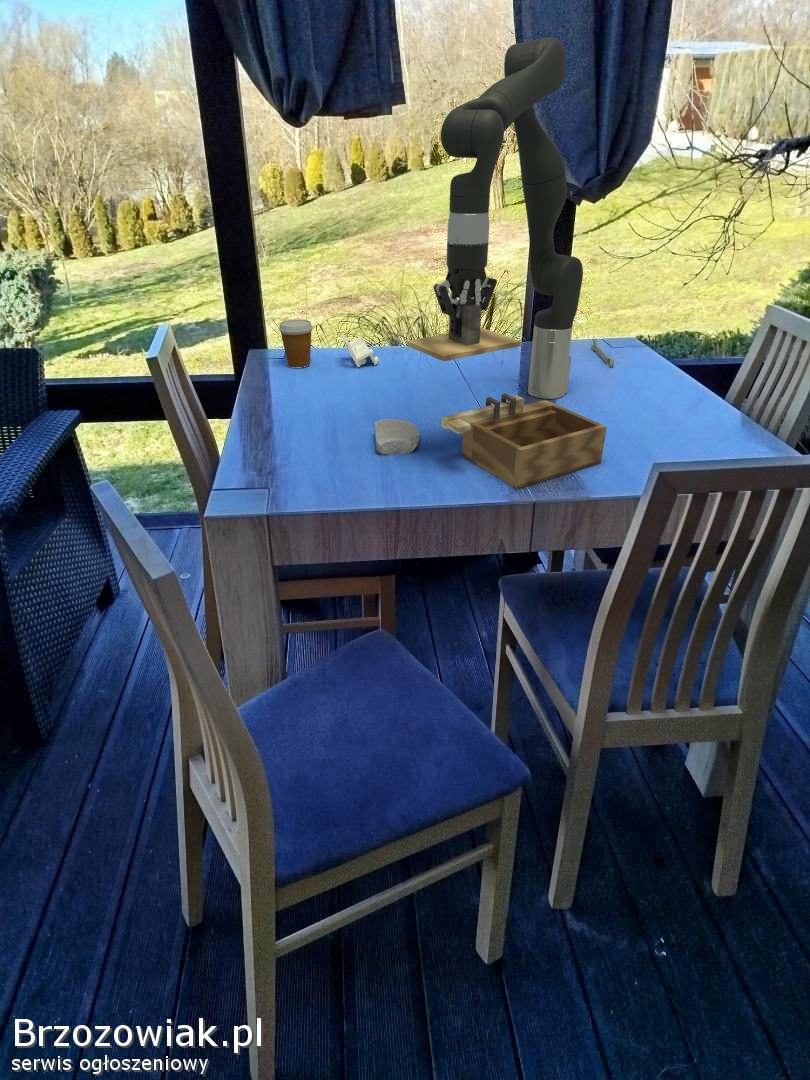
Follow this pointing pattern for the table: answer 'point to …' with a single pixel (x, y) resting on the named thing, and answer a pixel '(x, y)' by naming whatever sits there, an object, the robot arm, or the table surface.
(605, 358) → the combination wrench
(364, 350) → the mounting bracket
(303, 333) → the disposable coffee cup
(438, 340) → the lid
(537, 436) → the wooden box
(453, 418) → the yellow latch bar
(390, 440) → the stone block
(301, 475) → the table surface
